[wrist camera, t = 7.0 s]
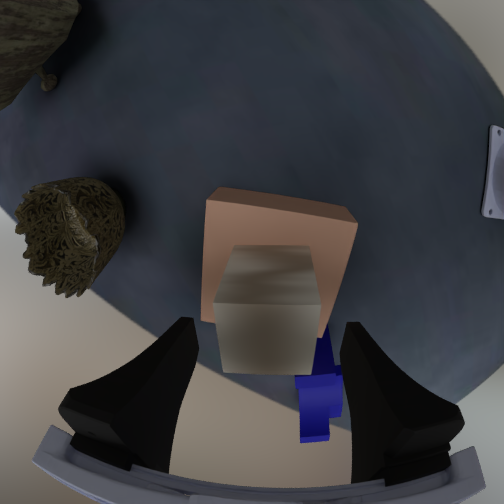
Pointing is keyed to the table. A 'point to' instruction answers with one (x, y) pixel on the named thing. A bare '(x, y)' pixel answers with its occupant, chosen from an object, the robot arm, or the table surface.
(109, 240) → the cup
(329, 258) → the terracotta block
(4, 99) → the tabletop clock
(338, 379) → the blue stepped block
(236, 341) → the ivory block
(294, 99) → the table surface
